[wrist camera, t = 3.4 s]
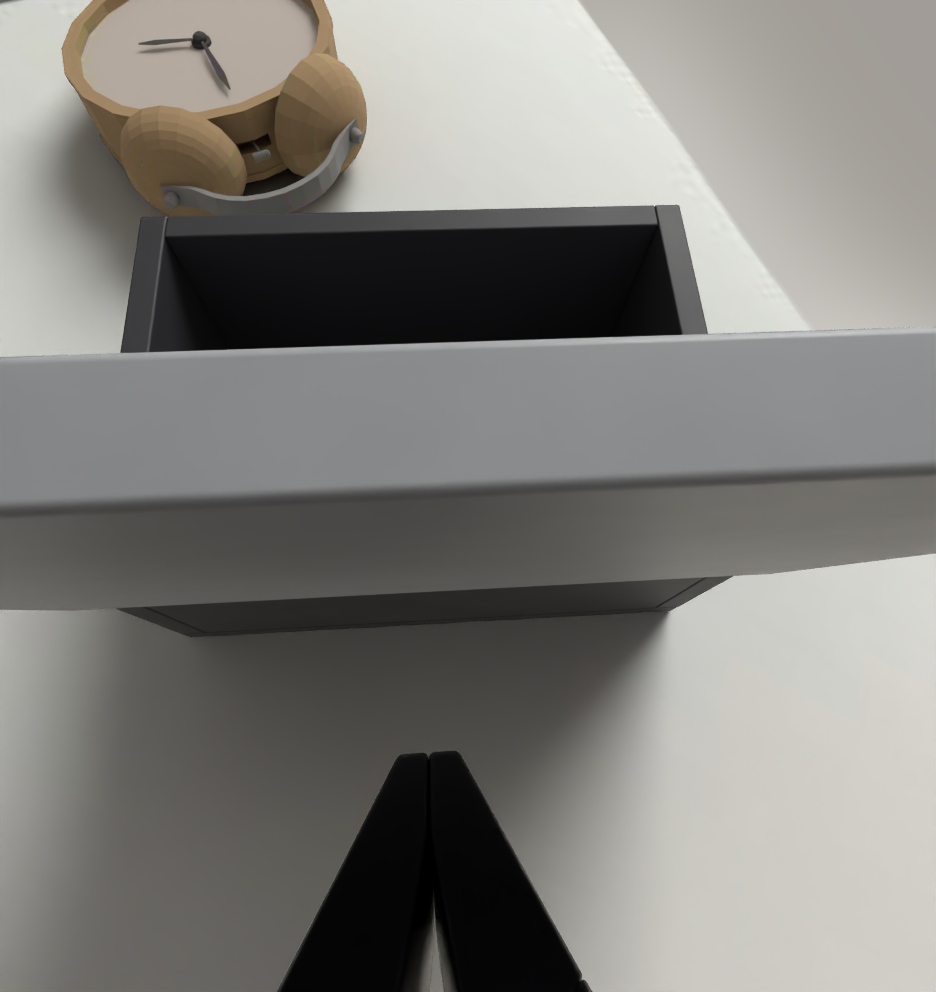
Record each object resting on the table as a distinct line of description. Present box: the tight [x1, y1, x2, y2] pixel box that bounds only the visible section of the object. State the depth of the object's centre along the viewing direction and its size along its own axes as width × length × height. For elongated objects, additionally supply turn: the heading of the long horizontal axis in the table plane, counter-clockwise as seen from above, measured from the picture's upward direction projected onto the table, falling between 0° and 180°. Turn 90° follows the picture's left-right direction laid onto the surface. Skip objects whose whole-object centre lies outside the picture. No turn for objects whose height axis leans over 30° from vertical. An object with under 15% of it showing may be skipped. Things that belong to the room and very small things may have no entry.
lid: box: [0, 327, 936, 610], centre depth 9 cm, size 12×17×1 cm
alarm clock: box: [62, 0, 367, 216], centre depth 28 cm, size 11×5×15 cm
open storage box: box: [116, 205, 733, 637], centre depth 21 cm, size 12×17×7 cm
